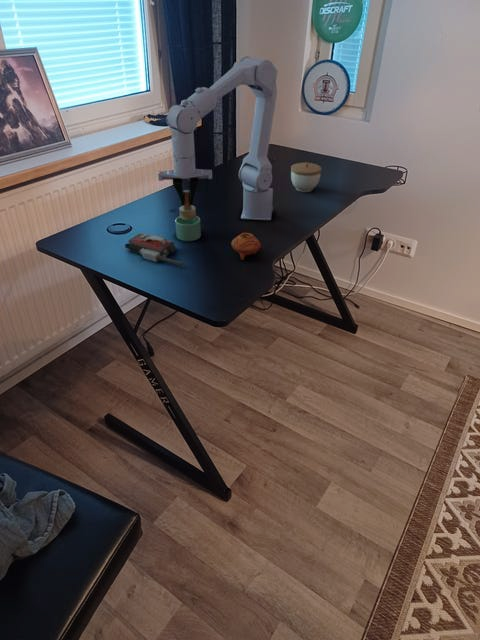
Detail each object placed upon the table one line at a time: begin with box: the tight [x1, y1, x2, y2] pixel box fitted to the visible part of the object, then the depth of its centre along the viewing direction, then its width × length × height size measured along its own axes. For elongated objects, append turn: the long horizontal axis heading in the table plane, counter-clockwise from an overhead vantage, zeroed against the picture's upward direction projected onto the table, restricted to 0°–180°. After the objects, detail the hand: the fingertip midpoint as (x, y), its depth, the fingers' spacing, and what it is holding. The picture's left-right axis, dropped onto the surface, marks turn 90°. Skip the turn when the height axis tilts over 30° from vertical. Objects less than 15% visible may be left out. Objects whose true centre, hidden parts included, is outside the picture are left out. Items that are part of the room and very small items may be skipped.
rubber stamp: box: [178, 189, 197, 220], centre depth 129 cm, size 5×5×8 cm
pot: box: [230, 232, 262, 261], centre depth 123 cm, size 8×8×7 cm
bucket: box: [174, 215, 202, 242], centre depth 133 cm, size 7×7×5 cm
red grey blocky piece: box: [124, 233, 184, 266], centre depth 124 cm, size 9×4×20 cm
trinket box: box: [290, 161, 323, 193], centre depth 162 cm, size 11×11×9 cm
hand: (187, 204), depth 129 cm, fingers closed on rubber stamp
